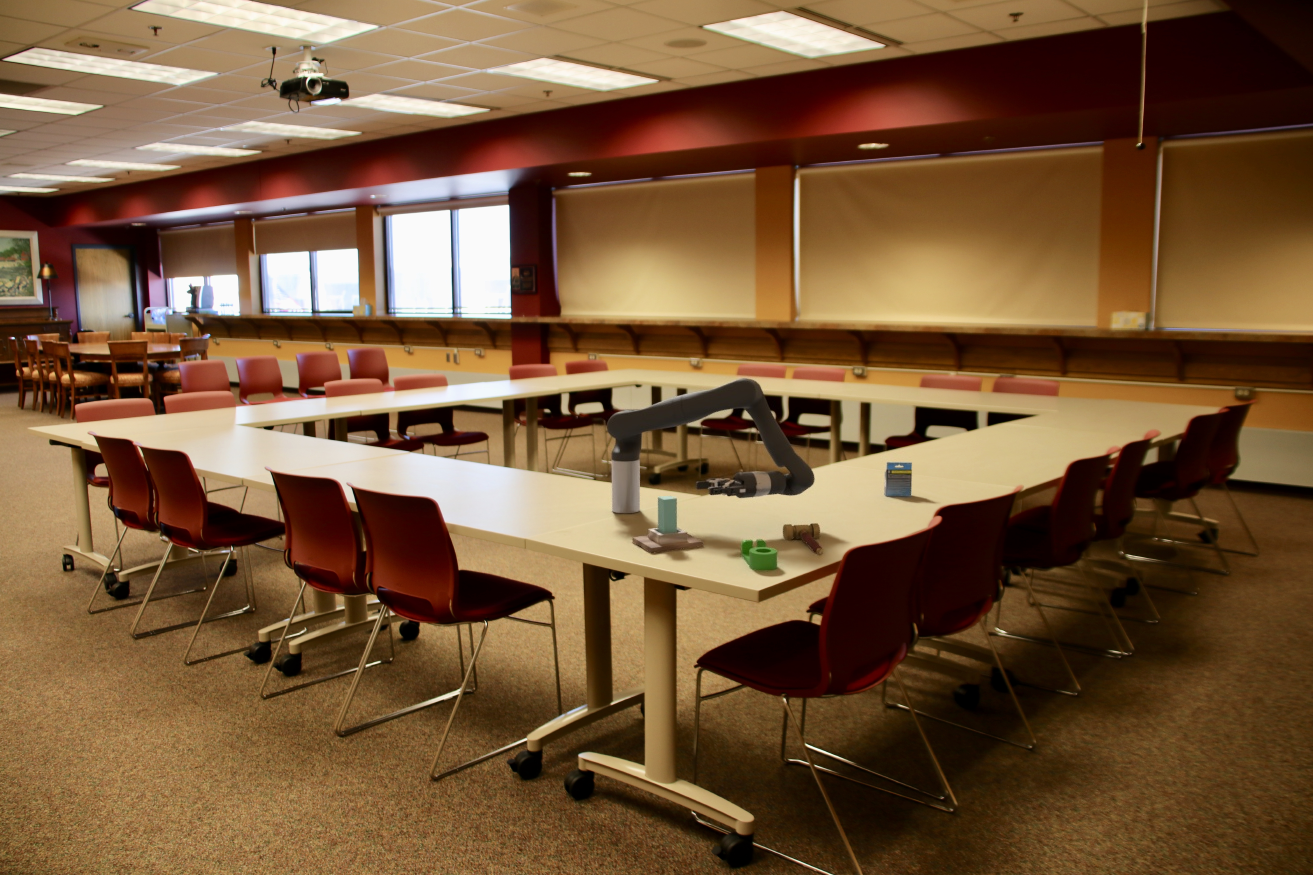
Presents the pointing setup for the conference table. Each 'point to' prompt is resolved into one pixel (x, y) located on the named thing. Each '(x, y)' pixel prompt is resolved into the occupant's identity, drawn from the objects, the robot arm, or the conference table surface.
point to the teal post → (667, 514)
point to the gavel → (804, 535)
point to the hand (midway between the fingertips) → (702, 488)
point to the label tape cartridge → (898, 479)
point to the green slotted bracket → (759, 555)
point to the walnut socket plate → (667, 541)
